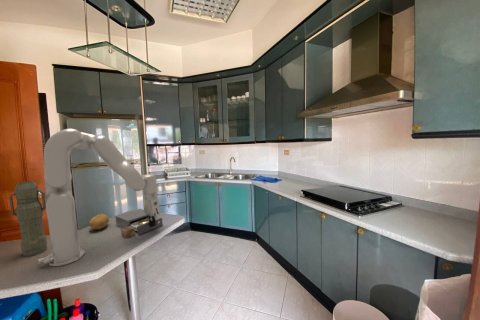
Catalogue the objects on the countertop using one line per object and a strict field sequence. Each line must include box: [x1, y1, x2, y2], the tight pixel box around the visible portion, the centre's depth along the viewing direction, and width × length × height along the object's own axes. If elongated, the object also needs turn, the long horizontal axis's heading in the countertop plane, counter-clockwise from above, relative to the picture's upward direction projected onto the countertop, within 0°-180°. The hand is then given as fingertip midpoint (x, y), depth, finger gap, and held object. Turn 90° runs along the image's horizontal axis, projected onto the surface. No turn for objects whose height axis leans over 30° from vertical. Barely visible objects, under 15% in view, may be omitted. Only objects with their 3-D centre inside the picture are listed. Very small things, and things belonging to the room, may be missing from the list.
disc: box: [138, 219, 149, 226], centre depth 125 cm, size 7×7×2 cm
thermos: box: [8, 180, 48, 257], centre depth 100 cm, size 9×12×35 cm
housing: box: [115, 208, 148, 229], centre depth 132 cm, size 16×16×6 cm
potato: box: [88, 213, 110, 231], centre depth 126 cm, size 10×14×8 cm
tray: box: [130, 217, 164, 236], centre depth 126 cm, size 15×16×5 cm
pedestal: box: [120, 226, 136, 239], centre depth 115 cm, size 5×5×4 cm
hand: (152, 225), depth 120 cm, fingers closed
